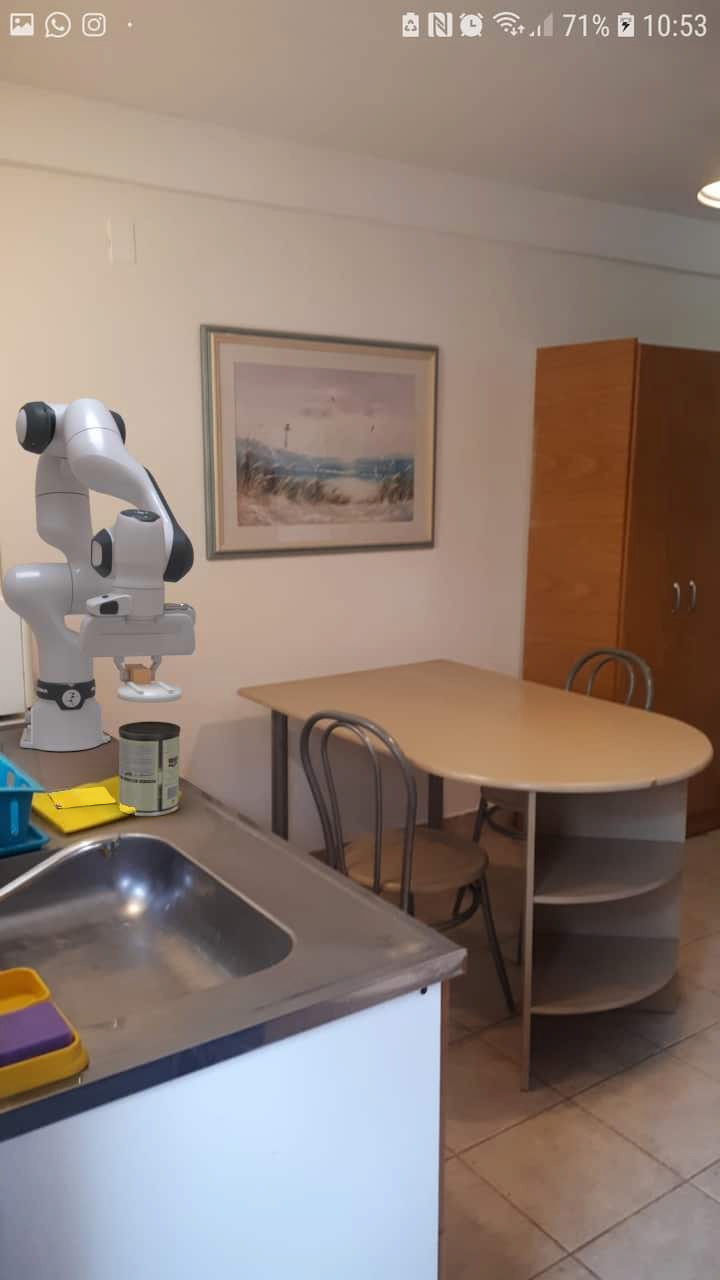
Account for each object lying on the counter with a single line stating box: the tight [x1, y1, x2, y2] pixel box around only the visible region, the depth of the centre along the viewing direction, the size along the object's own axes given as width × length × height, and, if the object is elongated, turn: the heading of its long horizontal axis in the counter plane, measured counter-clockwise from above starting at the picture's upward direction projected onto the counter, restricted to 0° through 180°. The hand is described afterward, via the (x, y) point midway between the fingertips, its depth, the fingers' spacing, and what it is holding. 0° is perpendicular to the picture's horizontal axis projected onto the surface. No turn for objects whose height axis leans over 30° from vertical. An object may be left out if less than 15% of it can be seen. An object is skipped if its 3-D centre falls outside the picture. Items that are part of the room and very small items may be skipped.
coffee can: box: [118, 721, 181, 817], centre depth 162 cm, size 10×10×14 cm
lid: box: [117, 663, 183, 704], centre depth 164 cm, size 17×11×4 cm, turn 27°
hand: (137, 680), depth 168 cm, fingers closed on lid, 3 cm apart
